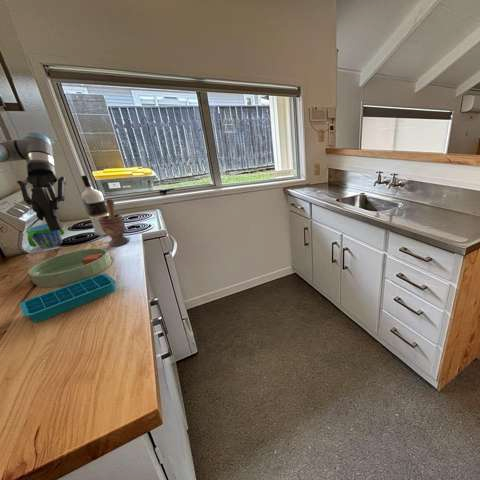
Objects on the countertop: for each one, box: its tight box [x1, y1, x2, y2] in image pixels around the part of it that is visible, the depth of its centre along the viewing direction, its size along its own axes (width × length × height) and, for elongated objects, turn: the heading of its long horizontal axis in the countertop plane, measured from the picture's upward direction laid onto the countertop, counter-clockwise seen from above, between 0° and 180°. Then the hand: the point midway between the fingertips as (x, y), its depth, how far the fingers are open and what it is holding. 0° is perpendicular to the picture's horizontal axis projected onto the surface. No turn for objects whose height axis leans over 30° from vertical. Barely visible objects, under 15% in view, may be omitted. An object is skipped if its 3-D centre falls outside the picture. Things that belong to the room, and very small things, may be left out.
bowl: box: [27, 247, 113, 288], centre depth 94 cm, size 22×22×5 cm
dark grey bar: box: [30, 187, 64, 231], centre depth 96 cm, size 3×3×16 cm
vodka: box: [80, 175, 109, 237], centre depth 130 cm, size 9×9×30 cm
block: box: [82, 254, 102, 265], centre depth 96 cm, size 4×4×4 cm
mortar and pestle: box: [98, 198, 130, 247], centre depth 118 cm, size 12×9×20 cm
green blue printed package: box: [25, 223, 65, 249], centre depth 119 cm, size 16×10×10 cm
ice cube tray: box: [19, 272, 117, 323], centre depth 77 cm, size 12×20×3 cm, turn 143°
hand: (47, 217), depth 94 cm, fingers closed on dark grey bar, 3 cm apart
